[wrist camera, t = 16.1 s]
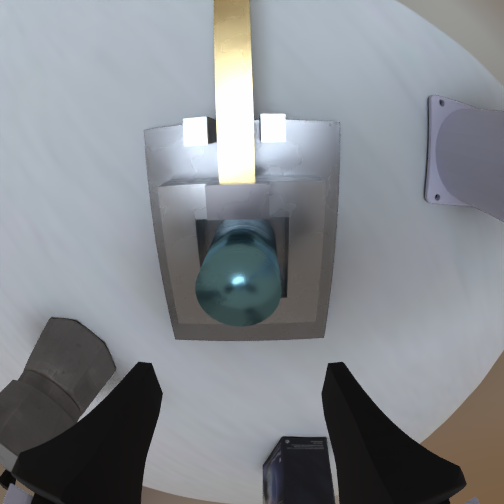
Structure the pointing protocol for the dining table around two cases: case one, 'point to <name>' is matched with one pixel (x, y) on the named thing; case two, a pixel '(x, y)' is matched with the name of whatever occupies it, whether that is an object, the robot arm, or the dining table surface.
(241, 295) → the teal glass cylinder
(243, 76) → the pin
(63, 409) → the coffeepot
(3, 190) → the dining table surface
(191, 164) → the dock
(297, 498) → the small box
